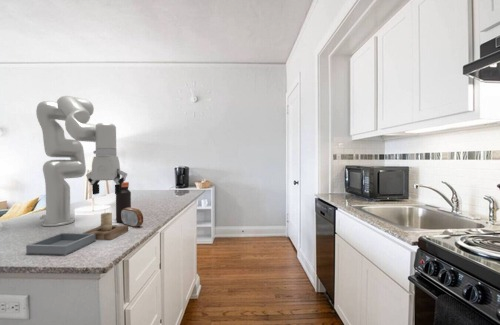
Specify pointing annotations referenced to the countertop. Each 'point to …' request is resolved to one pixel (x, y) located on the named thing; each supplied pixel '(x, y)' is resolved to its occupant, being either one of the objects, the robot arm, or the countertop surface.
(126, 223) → the tin
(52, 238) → the tray
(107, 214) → the dowel
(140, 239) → the countertop surface
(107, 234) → the holder
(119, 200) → the bottle
